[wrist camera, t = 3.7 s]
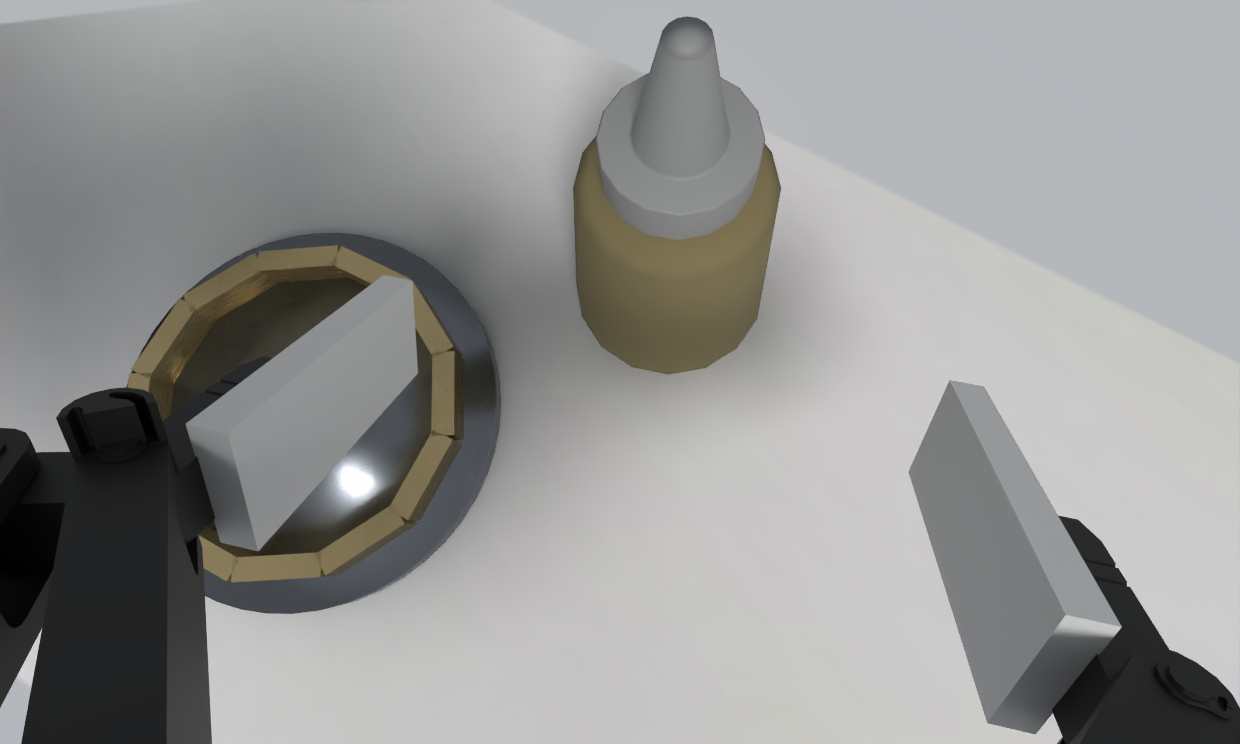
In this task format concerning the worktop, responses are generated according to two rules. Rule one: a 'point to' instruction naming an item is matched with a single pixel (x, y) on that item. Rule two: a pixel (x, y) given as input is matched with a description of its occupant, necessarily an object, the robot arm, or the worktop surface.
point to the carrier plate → (382, 457)
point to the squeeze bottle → (675, 212)
